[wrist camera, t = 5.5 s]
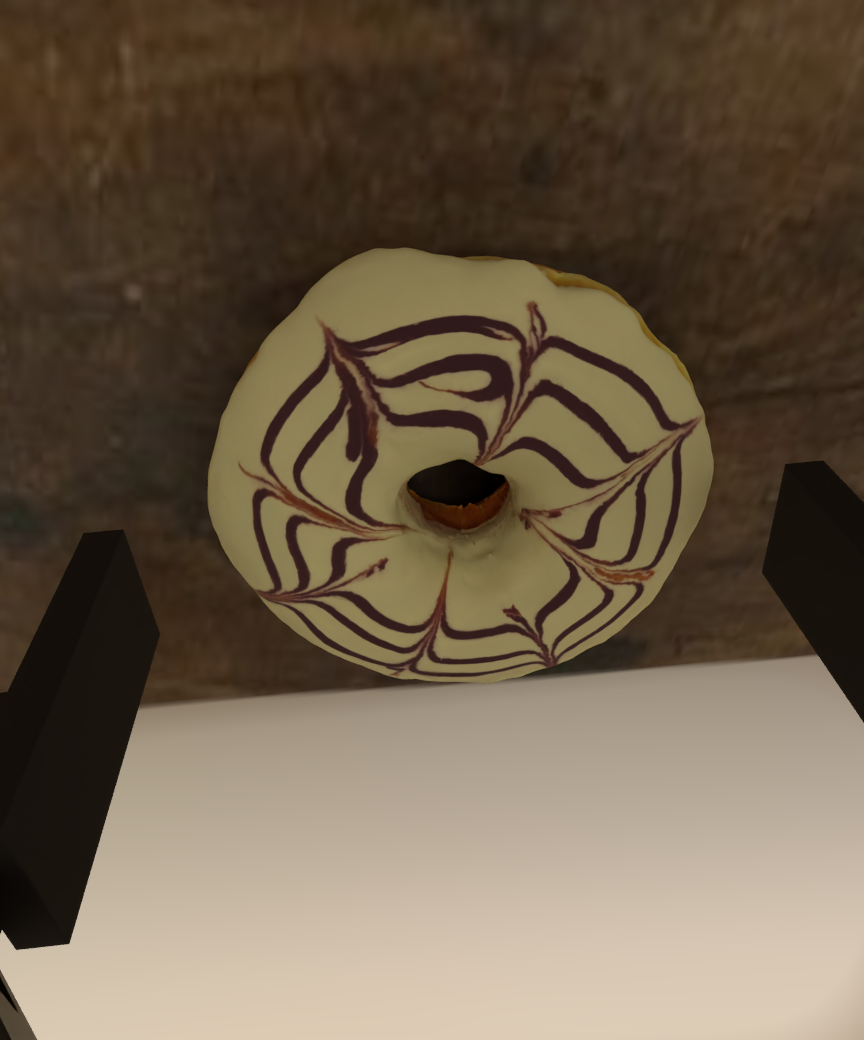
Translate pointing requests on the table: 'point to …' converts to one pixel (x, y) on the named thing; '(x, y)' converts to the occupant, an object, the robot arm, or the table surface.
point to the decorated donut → (450, 436)
